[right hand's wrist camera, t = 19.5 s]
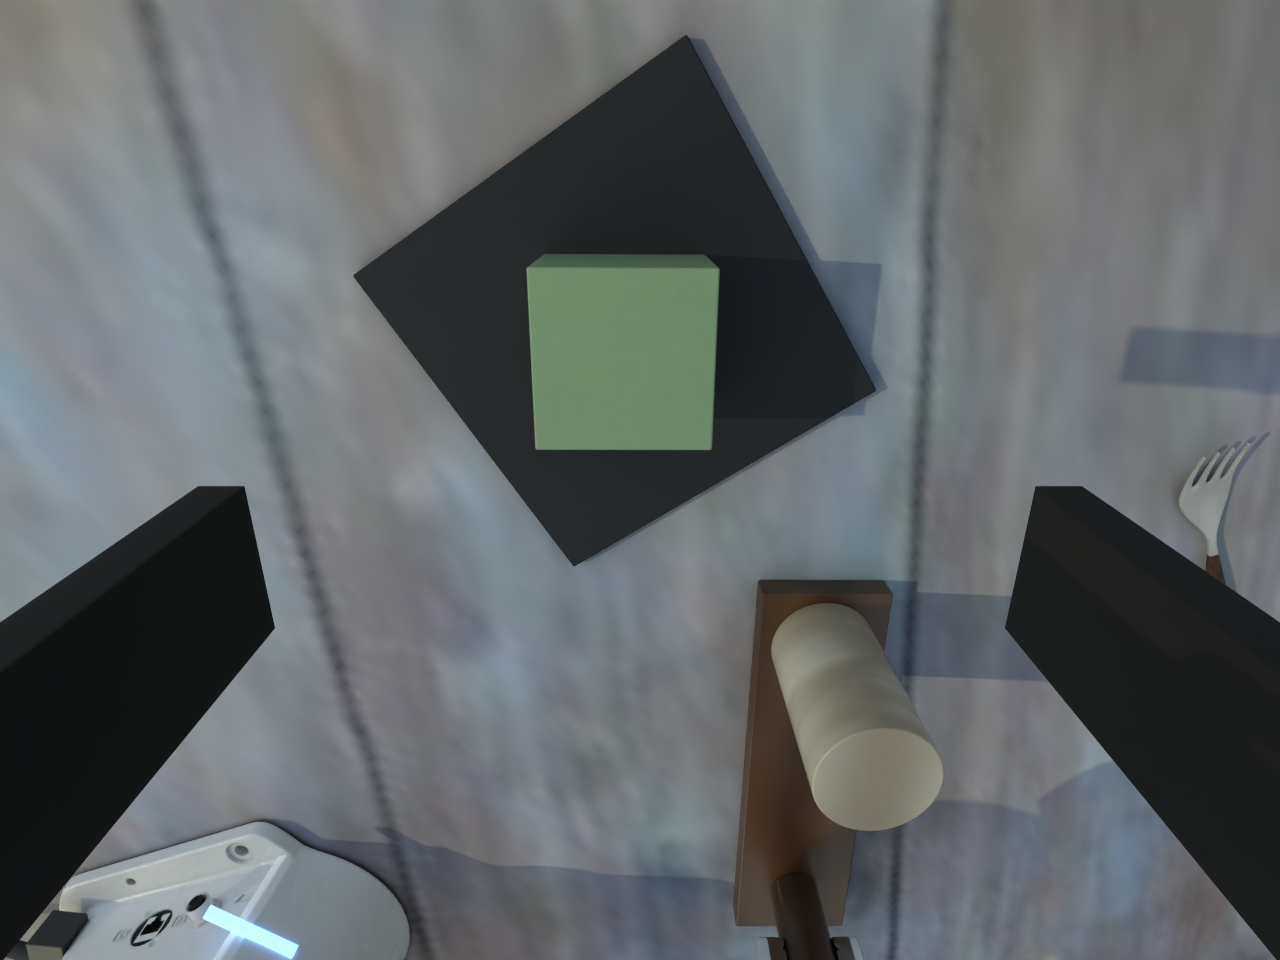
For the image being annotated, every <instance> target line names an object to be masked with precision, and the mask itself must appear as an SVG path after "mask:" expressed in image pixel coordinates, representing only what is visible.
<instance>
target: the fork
mask: <svg viewBox="0 0 1280 960" xmlns="http://www.w3.org/2000/svg"><path fill="white" fill-rule="evenodd" d="M1250 445H1251V444H1250V443H1249V442H1248V443H1246V445H1245V446H1244V447H1243V448H1242V450H1241V451H1240V453H1239V454H1238V455H1237V457H1236V458H1235V460H1234V461H1233V463H1232V464H1231V466H1230V468H1229V469H1228V471H1227V473H1226V474H1225V475H1224V476H1223V477H1222V478H1220V476H1221V473H1222V471H1223V469H1224V467H1225V465H1226V464H1227V462H1228V460H1229V458H1230V457H1231V455H1232V454H1233V452H1234V451H1235V448H1234V447H1232V448H1231V449H1230V451H1229V452H1228V453H1227V455H1226V456H1225V457H1224V459H1223V460H1222V462H1221V463H1220V465H1219V466H1218V468H1217V470H1216V471H1215V473H1214V475H1213V476H1212V478H1211V479H1210V480H1209V481H1208V482H1206V480H1207V477H1208V475H1209V473H1210V471H1211V469H1212V467H1213V465H1214V463H1215V462H1216V460H1217V458H1218V457H1219V455H1220V453H1219V452H1217V453H1216V454H1215V455H1214V457H1213V458H1212V459H1211V461H1210V462H1209V464H1208V465H1207V467H1206V469H1205V470H1204V472H1203V473H1202V475H1201V477H1200V479H1199V480H1198V482H1197V483H1196V485H1194V486H1192V483H1193V481H1194V478H1195V476H1196V474H1197V472H1198V470H1199V468H1200V467H1201V465H1202V463H1203V462H1204V460H1205V459H1206V458H1205V457H1204V456H1202V457H1201V459H1200V460H1199V461H1198V463H1197V464H1196V466H1195V468H1194V469H1193V471H1192V472H1191V474H1190V476H1189V477H1188V479H1187V481H1186V483H1185V485H1184V487H1183V489H1182V491H1181V494H1180V497H1179V507H1180V509H1181V511H1182V513H1183V514H1184V515H1185V516H1186V517H1187V518H1188V519H1189V520H1190V521H1191V522H1192V523H1193V524H1194V525H1195V526H1196V527H1197V528H1198V529H1199V530H1201V532H1202V533H1203V534H1204V535H1205V537H1206V540H1207V560H1206V572H1207V573H1209V574H1210V575H1211V576H1213V577H1214V578H1216V579H1217V580H1219V581H1220V582H1222V583H1223V584H1225V580H1224V576H1223V571H1222V567H1221V563H1220V558H1219V554H1218V549H1217V540H1216V537H1217V530H1218V526H1219V523H1220V519H1221V516H1222V513H1223V510H1224V508H1225V504H1226V501H1227V498H1228V495H1229V491H1230V487H1231V483H1232V478H1233V475H1234V472H1235V470H1236V468H1237V466H1238V464H1239V462H1240V460H1241V459H1242V457H1243V455H1244V454H1245V452H1246V450H1247V449H1248V448H1249V446H1250ZM1225 585H1226V584H1225Z"/></svg>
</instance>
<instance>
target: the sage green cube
mask: <svg viewBox="0 0 1280 960" xmlns="http://www.w3.org/2000/svg"><path fill="white" fill-rule="evenodd" d="M719 275H720V269H719V268H718V267H717V266H716V265H715V264H714V263H713V262H712V261H711V260H710V259H709V258H708V257H707V256H705V255H664V254H544V255H543V256H542V257H540V258H539V259H538V260H536V261H535V262H534V263H532V264H531V265H530V266H529V267H527V289H528V309H529V329H530V349H531V369H532V389H533V409H534V429H535V448H536V449H537V450H711V449H712V438H713V415H714V391H715V368H716V345H717V322H718V299H719Z"/></svg>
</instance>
